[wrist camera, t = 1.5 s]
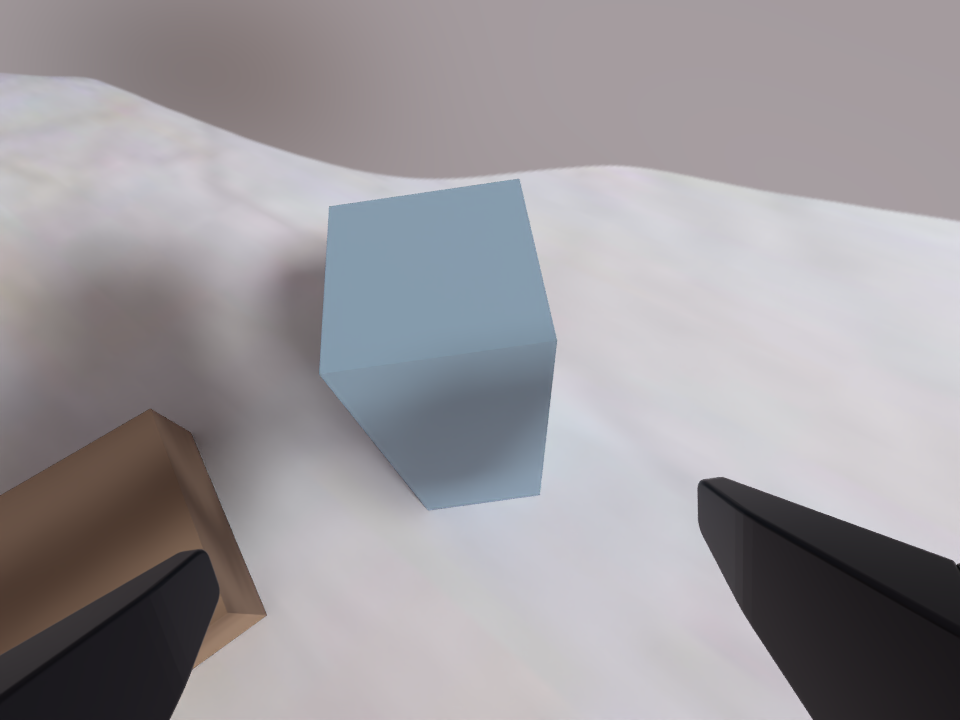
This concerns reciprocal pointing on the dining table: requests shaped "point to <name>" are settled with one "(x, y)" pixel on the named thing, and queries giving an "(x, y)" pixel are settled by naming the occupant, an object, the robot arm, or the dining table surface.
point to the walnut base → (116, 531)
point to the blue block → (442, 339)
